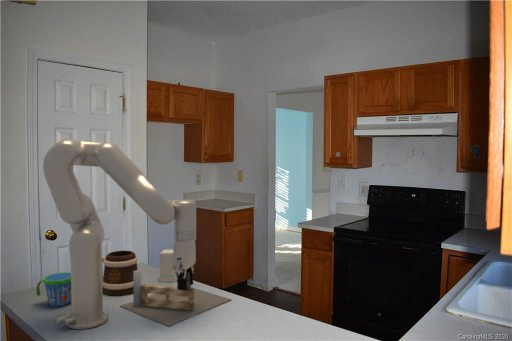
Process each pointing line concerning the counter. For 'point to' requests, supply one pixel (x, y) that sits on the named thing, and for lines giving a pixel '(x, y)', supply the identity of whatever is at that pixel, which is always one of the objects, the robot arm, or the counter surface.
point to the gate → (169, 291)
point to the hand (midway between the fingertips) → (185, 286)
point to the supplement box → (167, 267)
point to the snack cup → (57, 288)
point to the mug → (119, 272)
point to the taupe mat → (175, 316)
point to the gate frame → (138, 287)
